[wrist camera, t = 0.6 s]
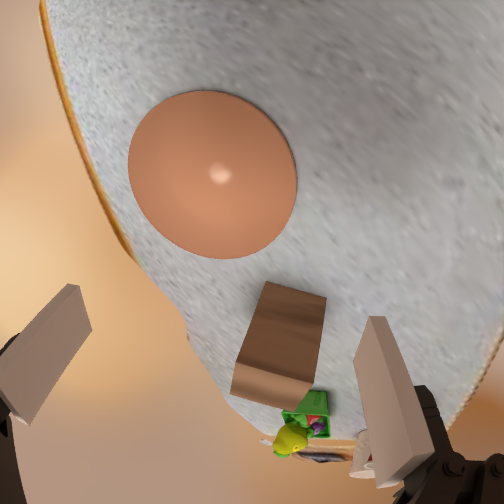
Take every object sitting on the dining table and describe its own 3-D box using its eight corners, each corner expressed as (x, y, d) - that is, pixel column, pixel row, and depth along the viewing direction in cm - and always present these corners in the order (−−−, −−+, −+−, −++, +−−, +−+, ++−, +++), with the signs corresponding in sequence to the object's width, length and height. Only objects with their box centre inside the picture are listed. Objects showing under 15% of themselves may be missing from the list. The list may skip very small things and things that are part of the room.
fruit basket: (334, 415, 48) (325, 468, 39) (289, 412, 51) (276, 463, 43) (333, 387, 42) (322, 451, 34) (280, 384, 46) (262, 445, 37)
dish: (134, 86, 23) (126, 87, 22) (315, 108, 21) (314, 110, 20) (139, 230, 34) (134, 235, 33) (278, 270, 31) (275, 277, 31)
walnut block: (266, 281, 33) (235, 362, 24) (326, 298, 32) (313, 383, 23) (257, 320, 37) (229, 393, 29) (309, 335, 36) (293, 411, 28)
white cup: (363, 441, 54) (357, 479, 46) (349, 430, 51) (343, 472, 44) (394, 435, 50) (391, 475, 42) (384, 425, 47) (380, 469, 39)
